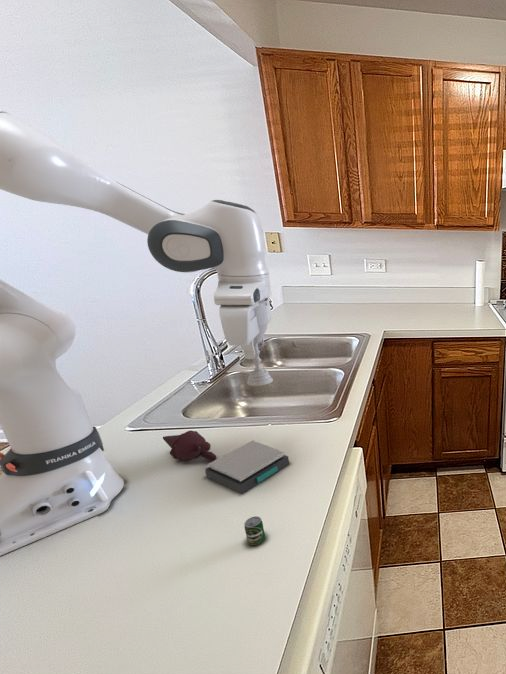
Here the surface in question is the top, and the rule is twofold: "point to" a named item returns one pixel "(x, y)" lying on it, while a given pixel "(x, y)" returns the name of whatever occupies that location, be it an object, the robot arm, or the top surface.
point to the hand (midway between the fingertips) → (255, 352)
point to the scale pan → (246, 460)
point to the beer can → (254, 530)
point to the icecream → (189, 446)
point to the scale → (249, 481)
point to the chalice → (259, 374)
